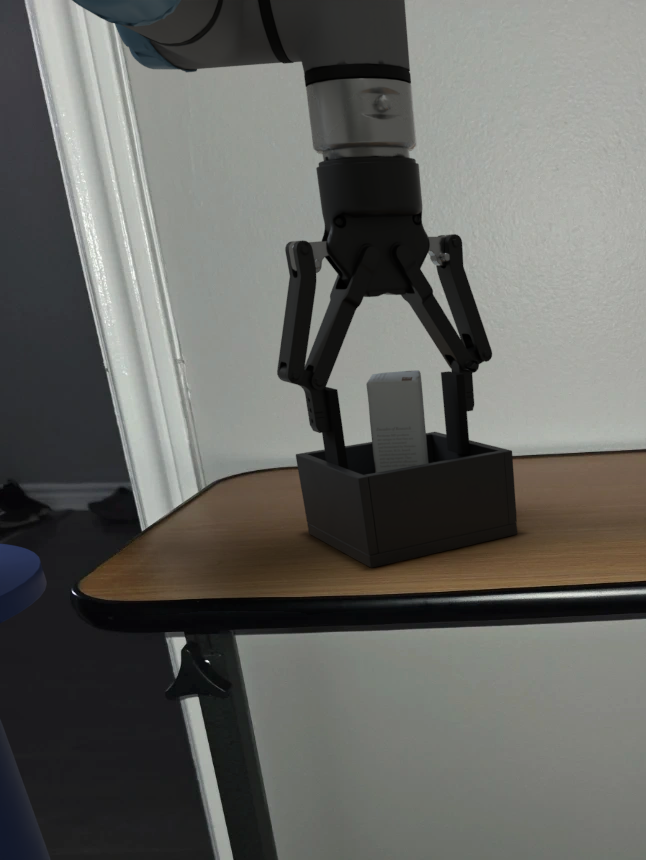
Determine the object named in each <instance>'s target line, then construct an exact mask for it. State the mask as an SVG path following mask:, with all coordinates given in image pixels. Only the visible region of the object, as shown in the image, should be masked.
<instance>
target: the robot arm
mask: <svg viewBox="0 0 646 860" xmlns="http://www.w3.org/2000/svg"><path fill="white" fill-rule="evenodd" d="M71 1H72V2H73V3H75V4H76V5H78V6H79V7H81V8H82V9H84V10H86V11H87V12H90V13H91V14H93V15H95V16H97V18H100V19H102V20H104V21H106V22H108V23H111V24H114V25H115V28H116V30H117V33H118V35H119V37H120V40H121V42H122V43H123V44H124V45H125V46H126V47H127V48H128V50H129V51H130V54H131V56H132V58H134V60H135V61H136V62H138V63H139V64H140V65H141V66H143V67H145V68H148V69H151V70H180V71H182V72H184V73H195V72H197V71H198V70H203V69H216V68H227V67H229V68H230V67H242V66H243V67H244V66H256V65H265V64H266V65H270V64H294V63H301V65H302V69H303V77H304V85H305V86H304V87H305V90H306V101H307V108H308V117H309V125H310V132H311V140H312V141H311V142H312V149H313V150H314V151H315V152H316V153H317V154H318V155H322V159H323V160H322V161H319V162H318V166H317V167H316V168H315V170H316V176H317V178H316V179H317V184H318V192H319V201H320V208H321V214H322V218H323V223H324V231H323V236H322V238H321V240H319V241H307V240H292V241H288V242H287V243H286V245H285V248H284V251H285V257H286V263H287V268H288V273H289V279H288V287H287V292H286V293H287V294H286V303H285V308H284V309H285V310H284V316H283V325H282V330H281V331H282V333H281V339H280V348H279V355H278V361H277V370H276V374H277V377H278V379H279V380H280V381H282V382H285V383H289V384H293V385H297V386H299V387H300V388H302V390H303V392H304V396H305V402H306V403H305V404H306V409H307V415H308V416H307V417H308V423H309V426H310V428H311V430H312V431H313V432H316V433H317V434H321V435H322V436H321V437H322V442H323V450H324V449H325V456H326V461H327V462H329V463H332V464H335V465H338V466H340V467H343V468H346V469H348V464H347V456H346V449H345V446H346V442H345V435H344V427H343V422H342V421H343V420H342V414H341V405H340V398H339V392H338V388H337V389H336V388H334V387H333V388H332V387H328V386H327V385H328V382H329V380H330V377H331V374H332V372H333V369H334V367H335V365H336V362H337V360H338V357H339V354H340V352H341V349H342V346H343V344H344V342H345V339H346V337H347V334H348V331H349V329H350V326H351V324H352V321H353V318H354V316H355V313H356V310H357V309H358V308H359V307H360V306H361V305H362V302H363V300H364V298H374V297H375V298H377V297H380V296H383V295H385V296H401V297H402V299H403V300H404V301H406V302H407V304H408V305H409V306H410V307H411V309H412V310H413V313H414V314H415V316H416V317H417V318H418V321H420V324H422V326H423V328H424V330H425V331H426V332H427V334H428V335H429V337H430V339H431V341H433V344H434V345H435V346H436V348H437V350H438V351H439V353H440V354H441V356H442V358H443V359H444V360H445V362H446V364H447V365H448V367H449V369H451V371H448V370H447V371H441V372H440V379H441V380H440V381H441V389H442V390H441V391H442V402H443V412H444V413H443V414H444V426H445V434H446V438H447V449H448V451H452V452H455V453H458V454H462V455H464V454H470V446H469V440H470V435H469V421H468V412H473V411H474V408H475V392H474V391H475V390H474V379H473V374H474V373H476V372H477V371H478V370H479V367H480V365H481V364H483V363H484V362H486V363H487V362H489V361H490V360H491V359H492V357H493V350H492V347H491V345H490V341H489V338H488V335H487V333H486V330H485V326H484V324H483V320H482V318H481V315H480V312H479V309H478V306H477V302H476V299H475V297H474V294H473V291H472V288H471V285H470V282H469V279H468V276H467V273H466V270H465V266H464V252H463V250H464V249H463V239H462V238H461V236H460V235H459V234H455V233H453V234H452V233H451V234H440V235H437V236H429V235H428V234H427V232H426V230H425V228H424V223H423V195H422V185H421V175H420V164H419V163H417V160H416V159H415V158H412V157H410V152H412V151H414V150H415V148H416V147H417V146H418V144H417V134H416V122H415V111H414V100H413V87H412V77H411V67H410V51H409V42H408V39H409V38H408V29H407V27H408V26H407V15H406V3H405V2H406V0H71ZM428 254H429V258H430V261H431V262H432V264H433V265H434V266H436V272H437V275H438V279H439V281H440V284H441V287H442V290H443V293H444V296H445V298H446V302H447V304H448V307H449V310H450V313H451V315H452V318H453V322H454V324H455V327H456V329H457V331H456V329H455V328H454V326H453V324H452V323H451V321H450V319H449V318H448V317H447V315H446V313H445V312H444V309H443V308H442V306H441V305H440V303H439V302H438V300H437V298H436V296H435V295H434V289H433V287H432V285H431V284H430V283H429V281H428V279H427V277H426V276H425V274H424V273H423V270H422V269H421V268H422V267H423V264H424V262H425V260H426V258H427V257H428ZM324 259H325V260H326V261H327V262H328V264H329V265H330V266H331V267H332V268H333V270H334V271H335V272H336V274H337V276H336V278H335V281H334V283H333V286H332V289H331V291H330V293H329V303H328V305H327V308H326V310H325V314H324V316H323V318H322V321H321V323H320V327H318V328H319V329H318V332H317V334H316V337H315V339H314V342H313V344H312V346H311V350H310V352H309V355H308V357H307V354H308V347H309V340H310V339H309V338H310V332H311V326H312V325H311V324H312V319H313V318H312V317H313V311H314V304H315V297H316V289H317V274H318V273H319V272H321V270H322V265H323V260H324Z"/></svg>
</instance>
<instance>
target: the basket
mask: <svg viewBox="0 0 646 860" xmlns="http://www.w3.org/2000/svg"><path fill="white" fill-rule="evenodd" d="M426 441H427V452H428V464H422V465H417V466H411V467H406V468H400V469H394V470H389V471H383V472H377V473H375V466H374V455H373V445H372V441H368V442H363V443H357V444H350V445H345V449H346V456H347V464H348V469H346V468H343V467H340V466H338V465H335V464H332V463H329V462H327V461H326V456H325V449H324V448H323V449H319V450H313V451H305V452H301V453H295V460H296V466H297V471H298V472H297V473H298V478H299V483H300V490H301V495H302V500H303V501H302V502H303V506H304V507H303V508H304V512H305V519H306V523H307V531H308V534H309V535H310V536H312V537H314V538H316V539H318V540H320V541H321V542H323V543H325V544H327V545H328V546H331V547H332V548H334V549H336V550H338V551H340V552H342V553H344V554H345V555H347V556H349V557H351V558H352V559H354V560H356V561H358V562H360V563H361V564H363V565H365V566H367V567H369V568H371V569H373V568H377V567H381V566H387V565H390V564H395V563H398V562H403V561H408V560H412V559H416V558H421V557H425V556H429V555H434V554H438V553H442V552H446V551H451V550H456V549H460V548H464V547H468V546H472V545H477V544H481V543H486V542H489V541H494V540H499V539H502V538H503V539H504V538H507V537H511V536H516V535H518V518H517V507H516V506H517V505H516V503H517V502H516V490H515V489H516V488H515V475H514V474H515V473H514V457H513V450H511V449H507V448H503V447H499V446H494V445H491V444H487V443H483V442H479V441H474V440H470V439H469V446H470V454H464V455H462V454H458V453H455V452H452V451H448V449H447V438H446V433H442V432H439V431H430V432H426Z"/></svg>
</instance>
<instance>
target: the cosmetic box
mask: <svg viewBox="0 0 646 860" xmlns="http://www.w3.org/2000/svg"><path fill="white" fill-rule="evenodd" d="M421 373H422V372H421V371H420V370H402V371H401V370H400V371H389V372H388V371H387V372H379V373H373V374H371V375H370V378H369V379H368V381H367V382H366V385H365V386H366V393H367V402H368V403H367V404H368V414H369V424H370V435H371V436H370V437H371V442H372V445H373V455H374V466H375V473H377V472H383V471H389V470H394V469H400V468H406V467H411V466H417V465H422V464H428V452H427V441H426V433H427V429H426V418H425V407H424V406H425V405H424V395H423V383H422V374H421Z"/></svg>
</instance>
